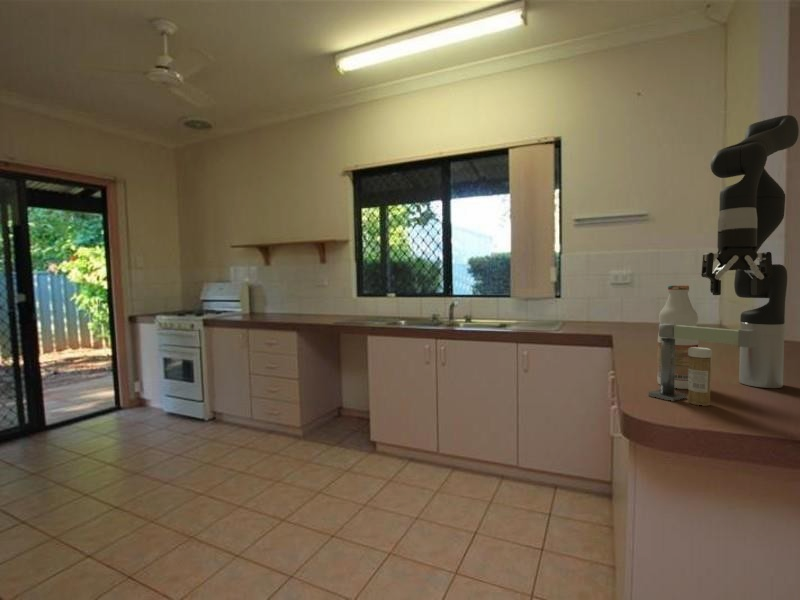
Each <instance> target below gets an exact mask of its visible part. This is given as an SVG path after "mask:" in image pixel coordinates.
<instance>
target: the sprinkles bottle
mask: <svg viewBox="0 0 800 600" xmlns="http://www.w3.org/2000/svg"><path fill="white" fill-rule="evenodd" d="M712 352H713V351H712V349H710V348H709V347H702V346H698V347H691V348H689V349H688V355H689V373H688V389H687V390H688V397H687V398H688V399H687V402H688V403H689V404H690V405H695V406H699V405H702V407H708V406H710V405H711V391H712V390H711V388H712V386H711V385H712V384H711V383H712V382H711V381H712V379H711V368H712V367H711V359H712V355H713V353H712Z"/></svg>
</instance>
